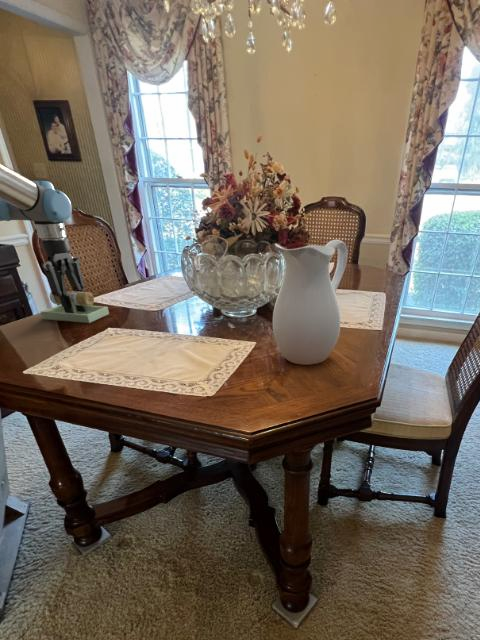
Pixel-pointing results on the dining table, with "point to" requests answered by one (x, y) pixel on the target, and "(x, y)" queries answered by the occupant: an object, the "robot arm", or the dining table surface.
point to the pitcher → (309, 303)
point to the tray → (75, 314)
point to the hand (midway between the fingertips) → (76, 313)
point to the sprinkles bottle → (75, 298)
